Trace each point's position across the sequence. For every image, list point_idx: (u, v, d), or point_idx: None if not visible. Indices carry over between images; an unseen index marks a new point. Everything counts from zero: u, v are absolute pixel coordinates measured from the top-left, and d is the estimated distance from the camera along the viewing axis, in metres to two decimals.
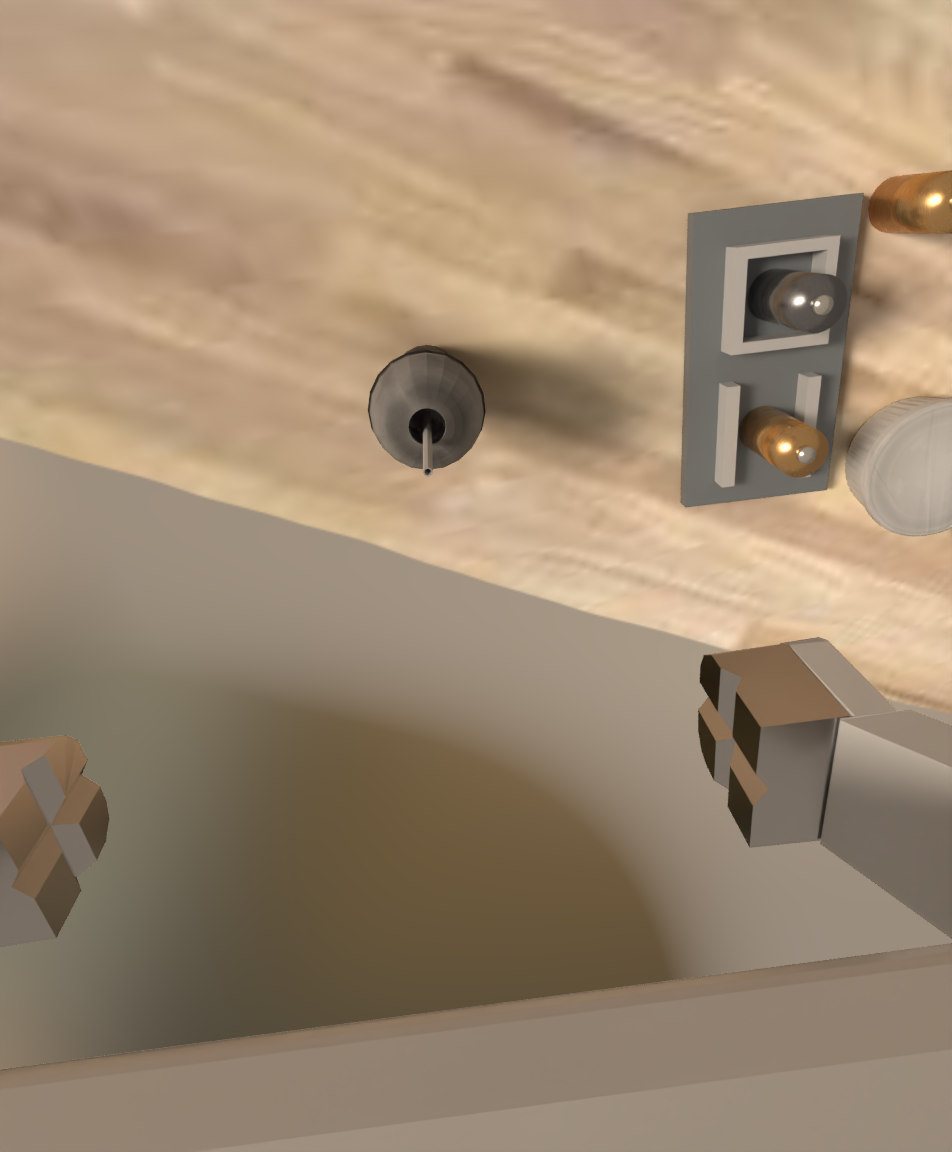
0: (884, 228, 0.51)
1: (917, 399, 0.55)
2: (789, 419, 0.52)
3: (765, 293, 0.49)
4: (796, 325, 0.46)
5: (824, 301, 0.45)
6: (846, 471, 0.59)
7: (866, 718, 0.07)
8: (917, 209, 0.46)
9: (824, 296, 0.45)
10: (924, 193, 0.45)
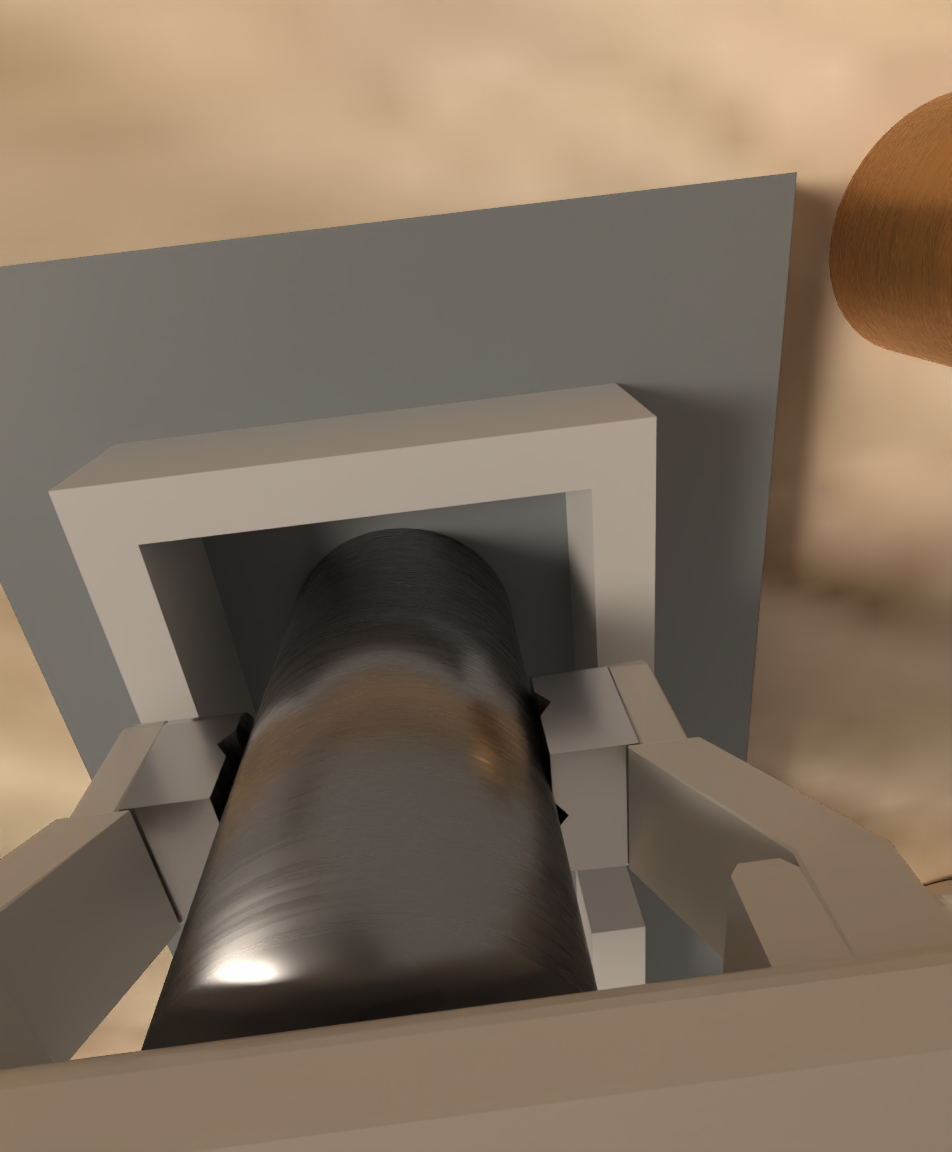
0: (907, 348, 0.10)
1: None
2: None
3: None
4: None
5: None
6: None
7: (653, 746, 0.07)
8: None
9: None
10: None
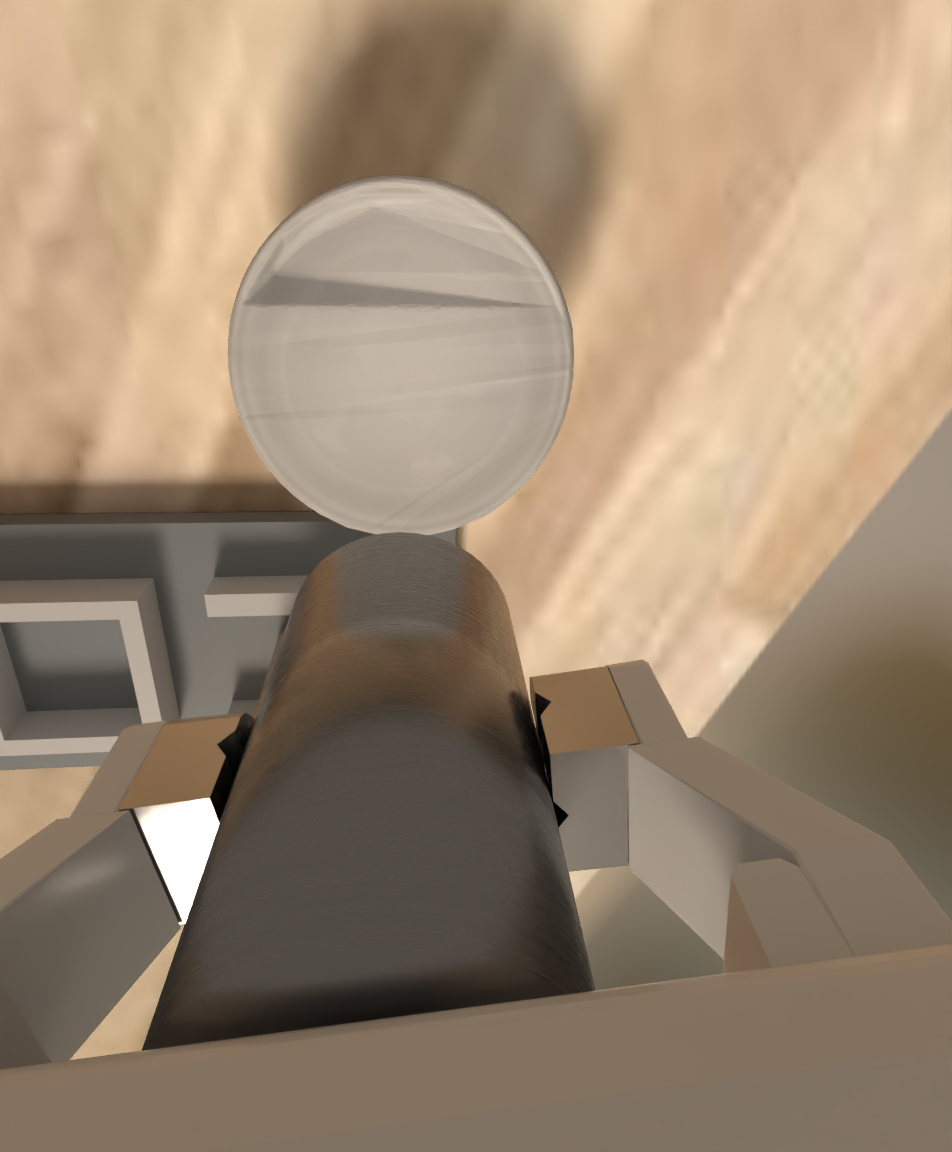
0: None
1: None
2: None
3: None
4: None
5: None
6: None
7: (653, 745, 0.07)
8: None
9: None
10: None
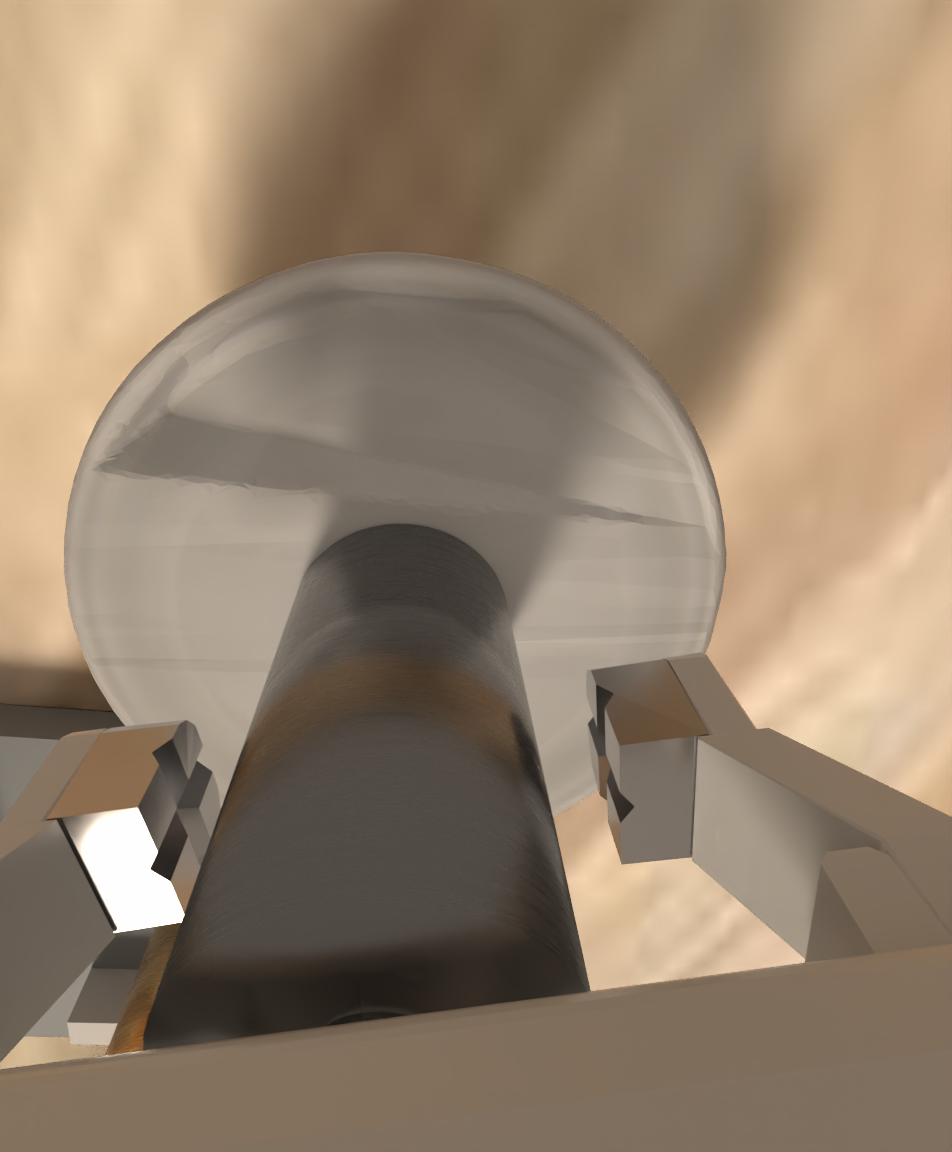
0: None
1: None
2: None
3: None
4: None
5: None
6: None
7: (723, 736, 0.07)
8: None
9: None
10: None
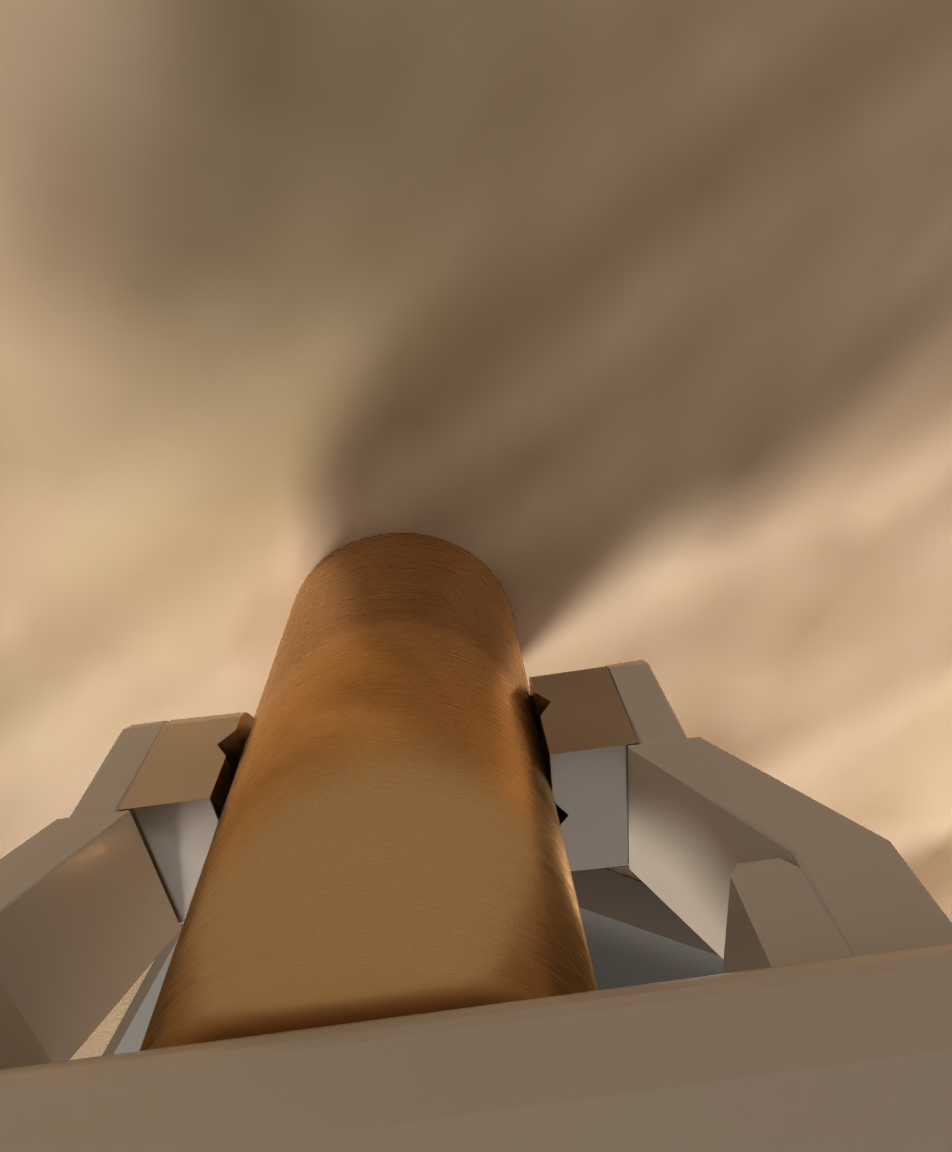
0: None
1: None
2: None
3: None
4: None
5: None
6: None
7: (653, 745, 0.07)
8: None
9: None
10: None
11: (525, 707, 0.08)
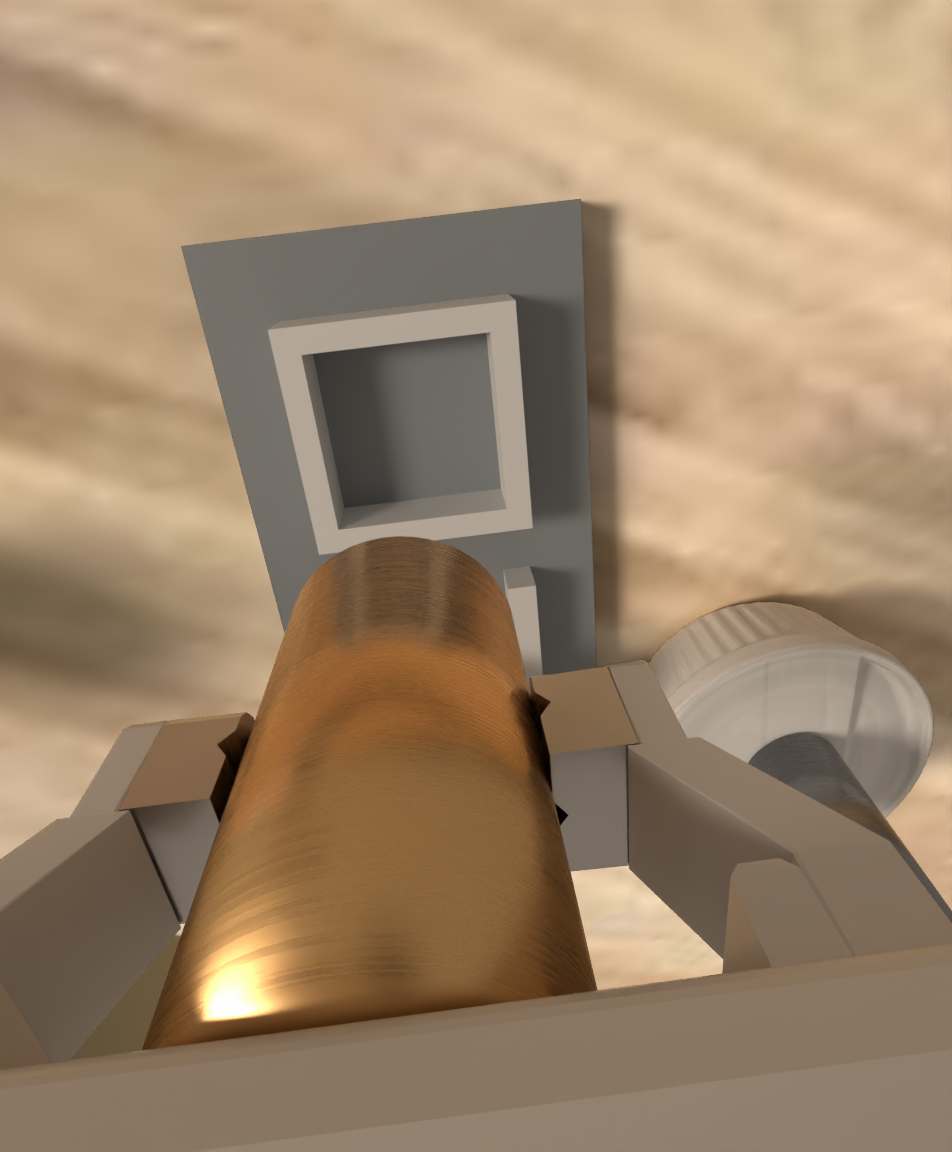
0: None
1: (752, 616, 0.27)
2: None
3: (825, 792, 0.23)
4: None
5: None
6: None
7: (653, 745, 0.07)
8: None
9: None
10: None
11: (526, 711, 0.08)
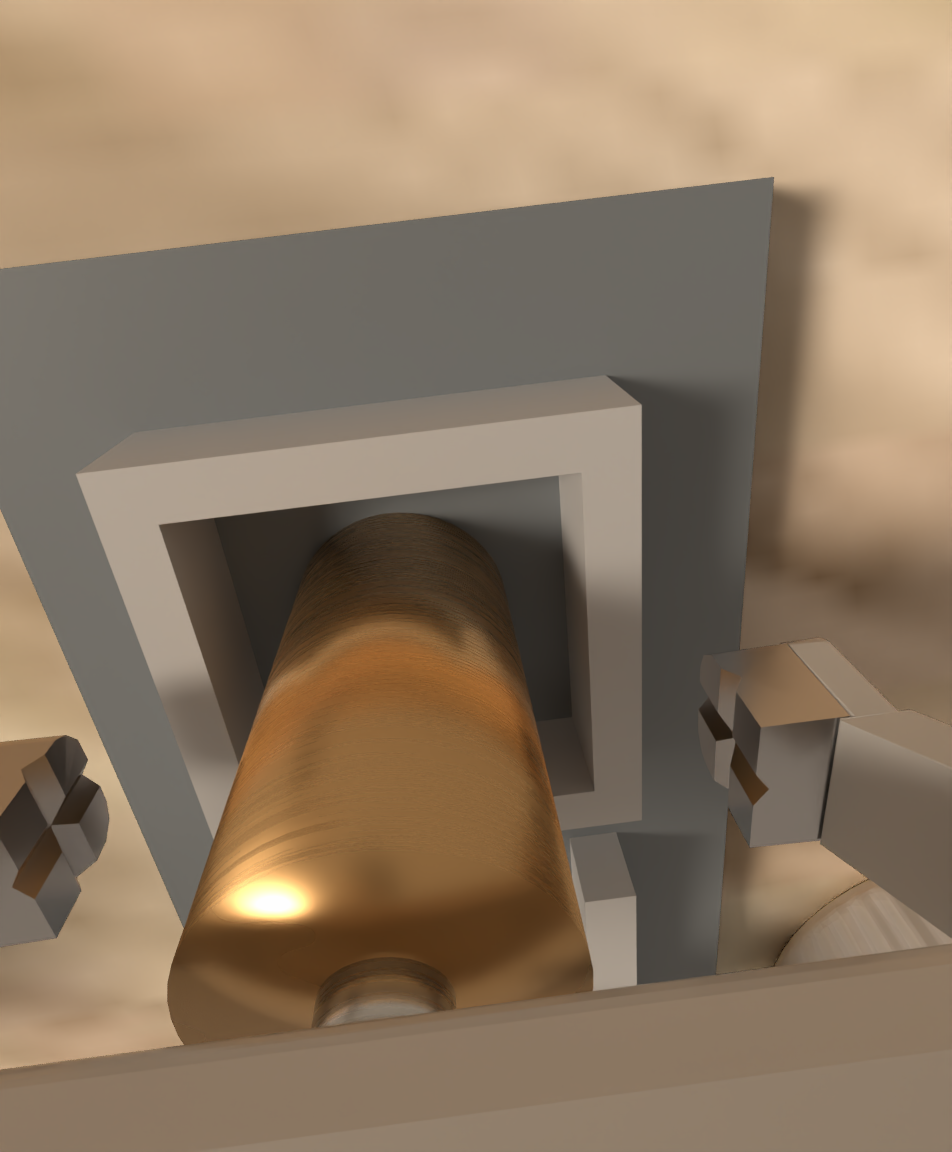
0: None
1: None
2: None
3: None
4: None
5: None
6: None
7: (866, 718, 0.07)
8: None
9: None
10: None
11: (515, 663, 0.09)
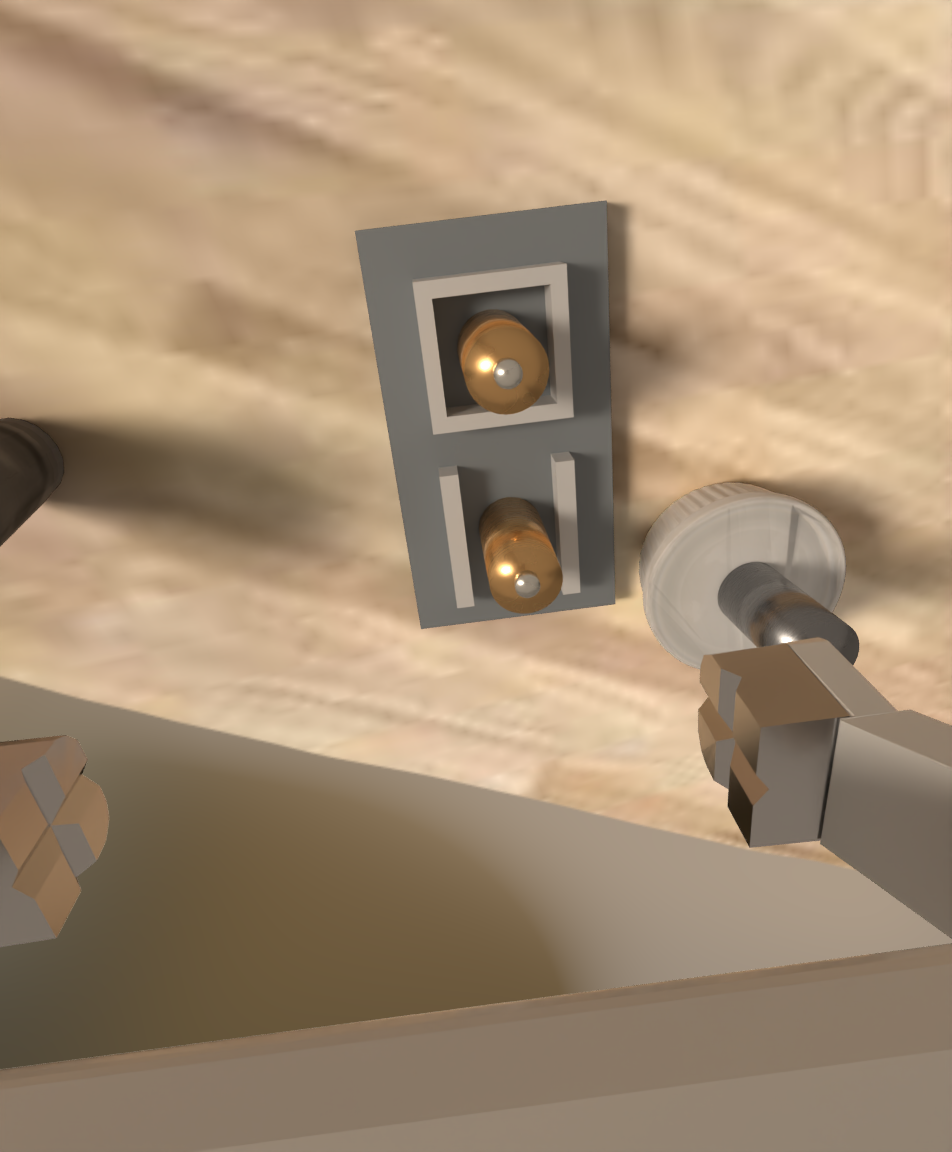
0: None
1: (721, 488, 0.40)
2: (517, 526, 0.36)
3: (759, 590, 0.36)
4: None
5: None
6: (640, 580, 0.43)
7: (866, 718, 0.07)
8: None
9: None
10: None
11: None
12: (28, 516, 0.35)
